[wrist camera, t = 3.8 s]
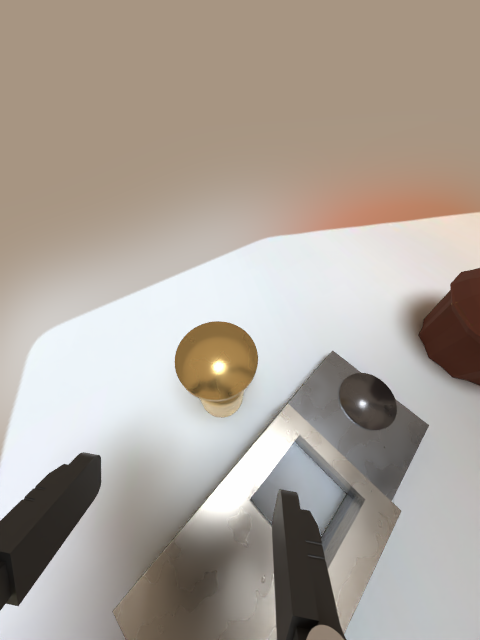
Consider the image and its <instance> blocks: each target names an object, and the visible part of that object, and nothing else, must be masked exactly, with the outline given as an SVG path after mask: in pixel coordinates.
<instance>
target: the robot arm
mask: <svg viewBox="0 0 480 640" xmlns="http://www.w3.org/2000/svg"><path fill="white" fill-rule="evenodd" d="M100 486H101V457H100V456H99V455H95V454H89V453H80V454H79V455H78V456H77V457H76V458H75V459H74V460H73V461H72V462H71V463H70V464H69V465H67V464H63V465H62V466H60V467H58V468H57V469H55V470H54V471H52V472H51V473H49V474H48V475H47V476H46V477H45V478H44V479H43V480H42V481H41V482H40V483H39V484H38V485H37V486H36V487H35V489H32V490H31V491H30V492H29V493H28V494H27V495H26V496H25V498H24V500H21V501H20V502H19V503H18V504H17V505H16V506H15V507H14V508H13V509H12V510H11V511H10V512H9V513H8V514H7V515H6V516H5V517H4V518H3V519H2V520H1V521H0V610H1V609H2V607H3V606H4V605H5V604H11V605H15V606H19V604H20V603H21V602H22V600H23V599H24V597H25V596H26V595H27V593H28V592H29V590H30V589H31V588H32V586H33V585H34V583H35V582H36V581H37V579H38V578H39V576H40V575H41V574H42V572H43V571H44V569H45V568H46V567H47V565H48V564H49V562H50V561H51V560H52V558H53V557H54V555H55V554H56V552H57V551H58V550H59V548H60V547H61V545H62V544H63V543H64V541H65V540H66V538H67V537H68V536H69V534H70V533H71V531H72V530H73V529H74V527H75V526H76V524H77V523H78V522H79V520H80V519H81V517H82V516H83V515H84V513H85V512H86V510H87V509H88V508H89V506H90V505H91V503H92V502H93V501H94V499H95V497H96V496H97V494H98V492H99V489H100ZM272 543H273V564H274V586H275V607H276V629H277V640H346V638H345V636H344V634H343V631H342V628H341V625H340V621H339V617H338V613H337V608H336V604H335V599H334V595H333V591H332V586H331V582H330V577H329V573H328V568H327V564H326V561H325V555H324V551H323V546H322V542H321V537H320V533H319V528H318V525H317V523H316V522H315V520H314V518H313V516H312V514H311V512H310V511H307V510H302V509H300V505H299V499H298V494H297V493H296V492H291V491H286V490H280V489H279V491H278V495H277V500H276V505H275V509H274V514H273V521H272Z"/></svg>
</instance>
